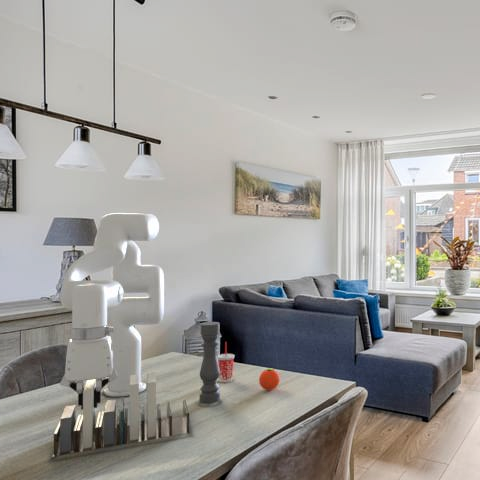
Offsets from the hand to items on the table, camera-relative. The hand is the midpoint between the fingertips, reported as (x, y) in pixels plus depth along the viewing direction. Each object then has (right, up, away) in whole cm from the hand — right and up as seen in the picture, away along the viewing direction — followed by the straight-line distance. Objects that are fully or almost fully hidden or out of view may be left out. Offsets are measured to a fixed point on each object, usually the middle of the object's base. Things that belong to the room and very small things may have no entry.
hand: (89, 406), depth 112 cm
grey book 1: (-4, -9, -2) cm, 10 cm away
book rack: (+8, -10, +4) cm, 13 cm away
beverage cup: (+19, -10, +52) cm, 56 cm away
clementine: (+37, -10, +43) cm, 57 cm away
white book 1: (0, -9, 0) cm, 9 cm away
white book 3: (+13, -9, +6) cm, 16 cm away
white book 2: (+9, -9, +4) cm, 13 cm away
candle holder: (+20, -10, +29) cm, 37 cm away
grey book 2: (+4, -9, +2) cm, 10 cm away
